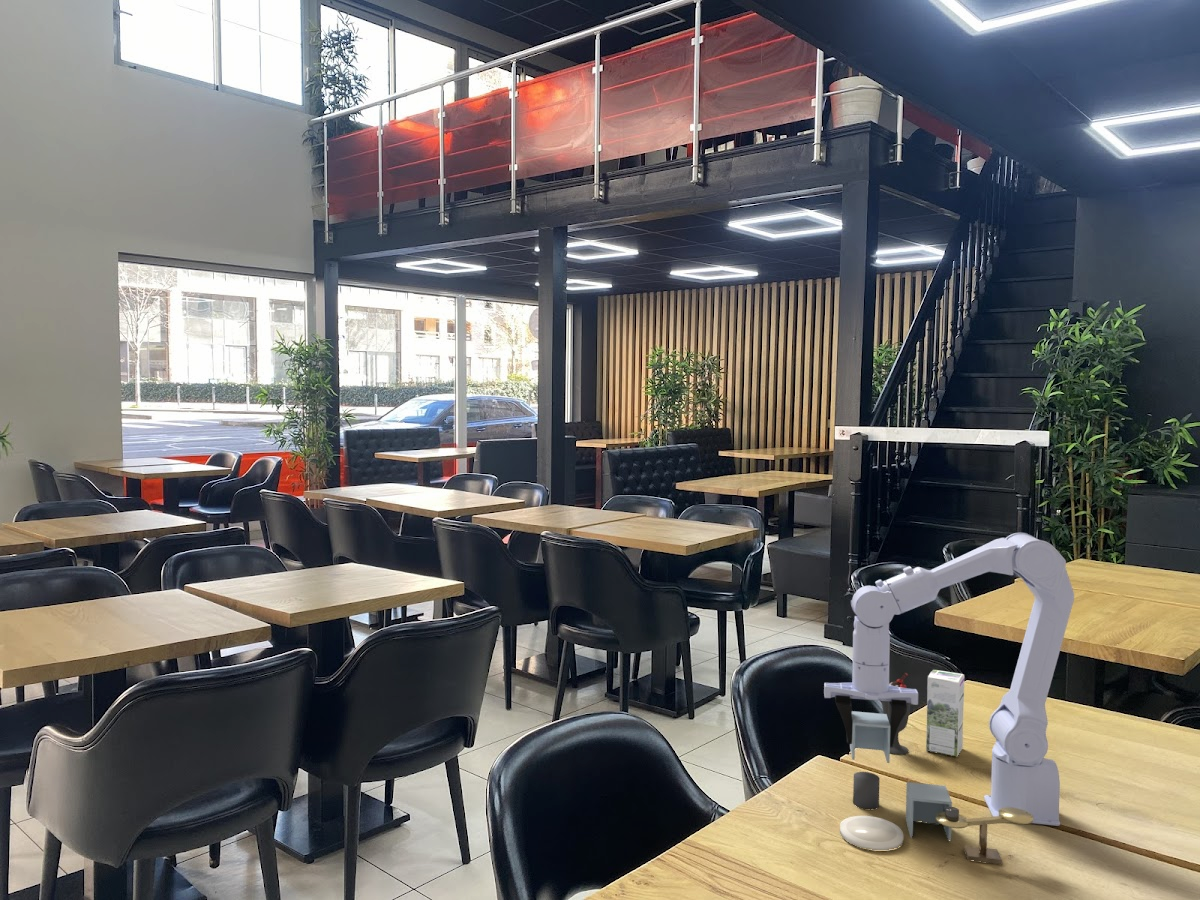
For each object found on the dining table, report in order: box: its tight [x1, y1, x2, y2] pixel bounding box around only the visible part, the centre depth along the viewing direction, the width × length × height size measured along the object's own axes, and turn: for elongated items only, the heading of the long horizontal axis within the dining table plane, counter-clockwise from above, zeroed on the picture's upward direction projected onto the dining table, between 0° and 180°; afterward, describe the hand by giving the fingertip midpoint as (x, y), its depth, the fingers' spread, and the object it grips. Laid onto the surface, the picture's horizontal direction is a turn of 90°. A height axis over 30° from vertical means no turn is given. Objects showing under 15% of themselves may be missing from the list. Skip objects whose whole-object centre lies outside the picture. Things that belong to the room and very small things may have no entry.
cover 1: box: [849, 710, 891, 764], centre depth 139 cm, size 6×6×6 cm
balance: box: [936, 806, 1033, 866], centre depth 121 cm, size 13×4×7 cm, turn 77°
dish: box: [839, 815, 904, 850], centre depth 127 cm, size 9×9×1 cm
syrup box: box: [925, 669, 965, 757], centre depth 160 cm, size 6×6×14 cm
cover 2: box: [905, 781, 953, 842], centre depth 129 cm, size 6×6×6 cm
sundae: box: [881, 672, 912, 755], centre depth 161 cm, size 7×7×15 cm
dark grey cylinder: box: [852, 771, 881, 811], centre depth 138 cm, size 4×4×4 cm
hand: (869, 743), depth 139 cm, fingers closed on cover 1, 6 cm apart
